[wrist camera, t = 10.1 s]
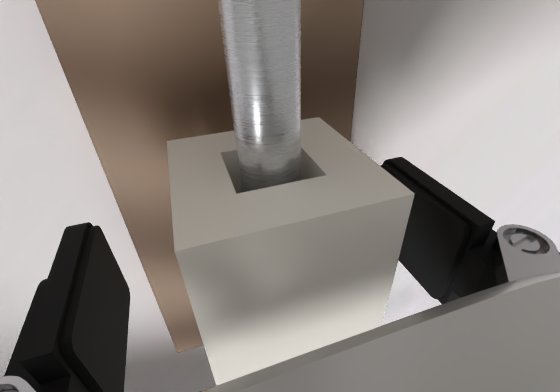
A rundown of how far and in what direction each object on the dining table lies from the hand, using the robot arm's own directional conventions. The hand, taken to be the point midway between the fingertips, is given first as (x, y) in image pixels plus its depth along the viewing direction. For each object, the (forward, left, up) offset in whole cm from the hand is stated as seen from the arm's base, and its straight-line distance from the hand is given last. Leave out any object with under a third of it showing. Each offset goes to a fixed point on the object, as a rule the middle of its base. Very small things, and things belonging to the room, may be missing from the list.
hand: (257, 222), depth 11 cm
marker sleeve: (0, 0, -1) cm, 1 cm away
